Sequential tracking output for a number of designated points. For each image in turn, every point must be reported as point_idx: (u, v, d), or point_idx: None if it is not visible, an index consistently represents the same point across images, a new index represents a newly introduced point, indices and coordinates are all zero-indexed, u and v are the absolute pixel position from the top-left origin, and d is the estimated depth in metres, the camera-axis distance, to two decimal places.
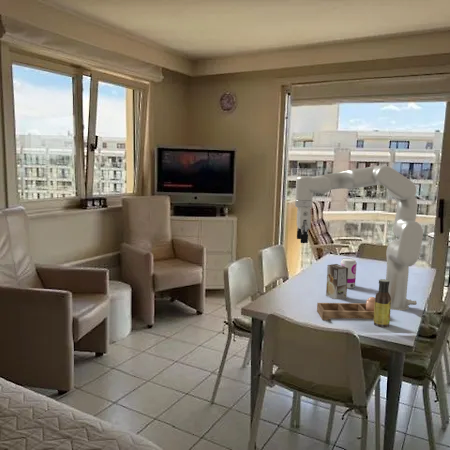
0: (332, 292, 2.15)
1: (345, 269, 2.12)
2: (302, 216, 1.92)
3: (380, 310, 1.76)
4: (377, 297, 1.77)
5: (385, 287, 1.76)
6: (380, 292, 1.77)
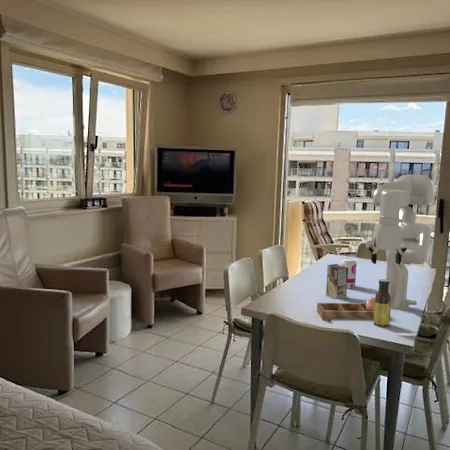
0: (332, 292, 2.15)
1: (345, 269, 2.12)
2: None
3: (380, 310, 1.76)
4: (377, 297, 1.77)
5: (385, 287, 1.76)
6: (380, 292, 1.77)
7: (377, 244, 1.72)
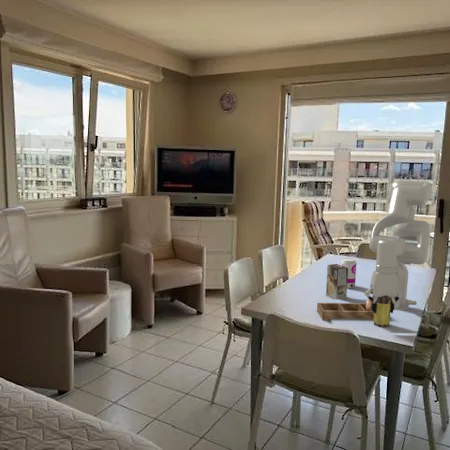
0: (332, 292, 2.15)
1: (345, 269, 2.12)
2: None
3: (380, 310, 1.76)
4: None
5: None
6: None
7: (373, 291, 1.75)
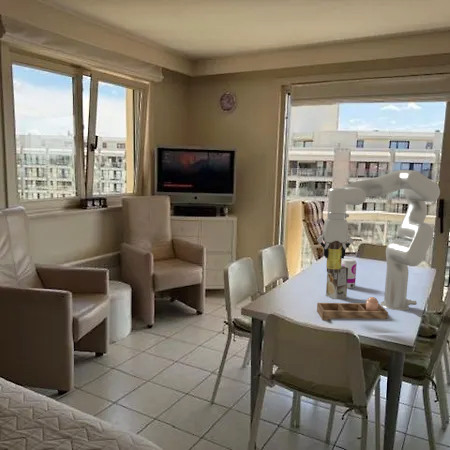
0: (332, 292, 2.15)
1: (345, 269, 2.12)
2: (347, 229, 1.84)
3: (331, 255, 1.85)
4: None
5: None
6: None
7: (325, 237, 1.84)
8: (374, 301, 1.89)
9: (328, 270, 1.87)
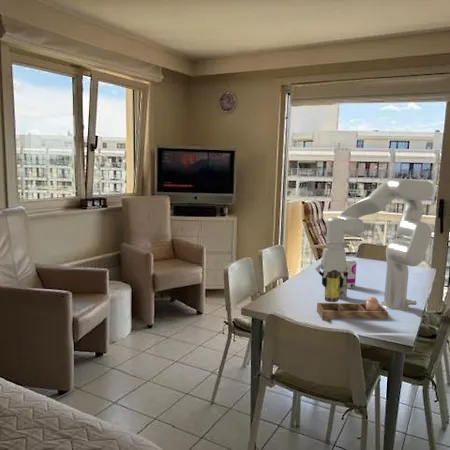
0: None
1: None
2: (345, 258, 1.86)
3: (329, 284, 1.87)
4: None
5: None
6: None
7: (323, 267, 1.86)
8: (374, 301, 1.89)
9: (326, 299, 1.89)
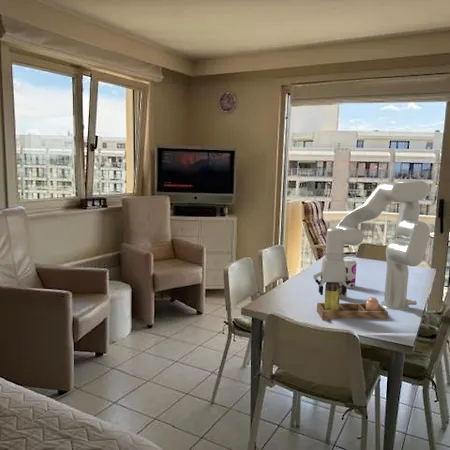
0: None
1: (345, 269, 2.12)
2: None
3: (329, 297, 1.88)
4: (326, 285, 1.89)
5: None
6: None
7: (323, 277, 1.87)
8: (374, 301, 1.89)
9: None
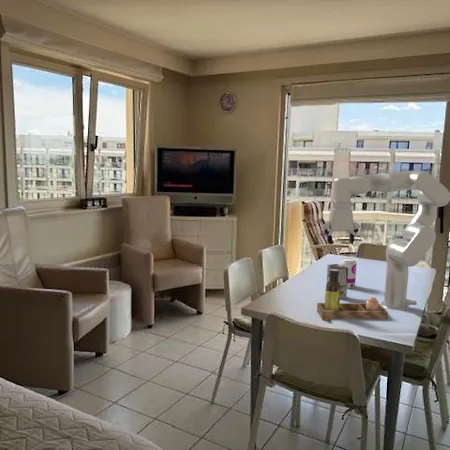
0: None
1: (345, 269, 2.12)
2: (352, 217, 1.91)
3: (329, 298, 1.88)
4: (327, 285, 1.88)
5: (334, 276, 1.87)
6: (330, 281, 1.88)
7: (331, 226, 1.91)
8: (374, 301, 1.89)
9: None
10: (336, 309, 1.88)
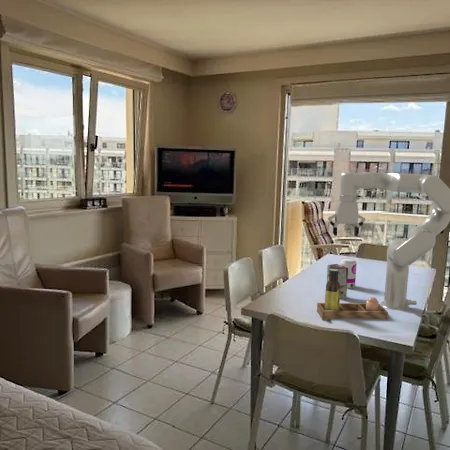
0: None
1: (345, 269, 2.12)
2: None
3: (329, 298, 1.88)
4: (327, 285, 1.88)
5: (334, 276, 1.87)
6: (330, 281, 1.88)
7: (337, 218, 1.99)
8: (374, 301, 1.89)
9: None
10: (336, 309, 1.88)
